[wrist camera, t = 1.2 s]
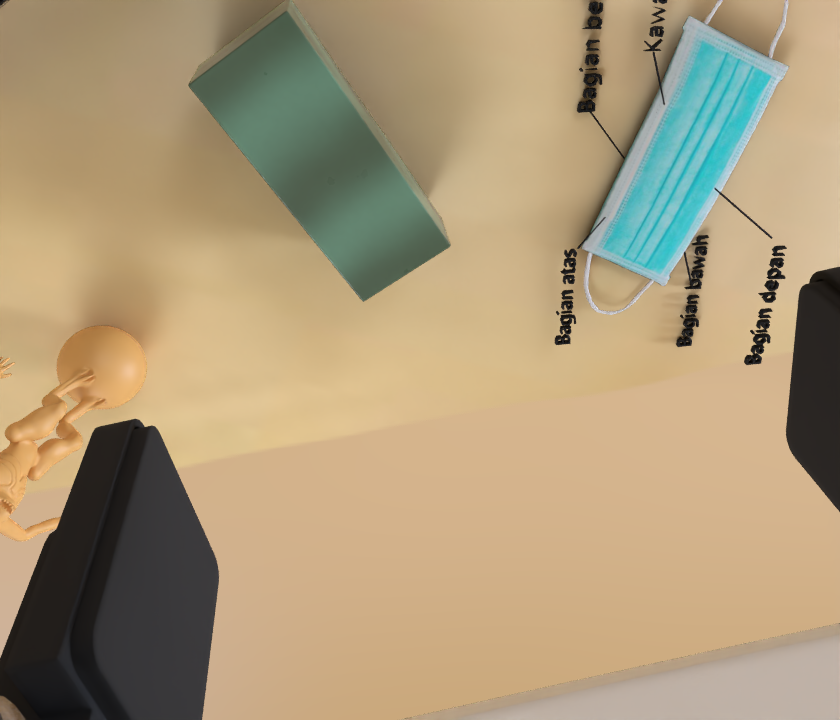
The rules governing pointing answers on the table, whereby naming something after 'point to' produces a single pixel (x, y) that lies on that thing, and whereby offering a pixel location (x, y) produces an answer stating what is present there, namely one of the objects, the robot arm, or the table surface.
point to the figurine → (87, 385)
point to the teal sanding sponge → (320, 151)
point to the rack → (3, 2)
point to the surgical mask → (681, 162)
